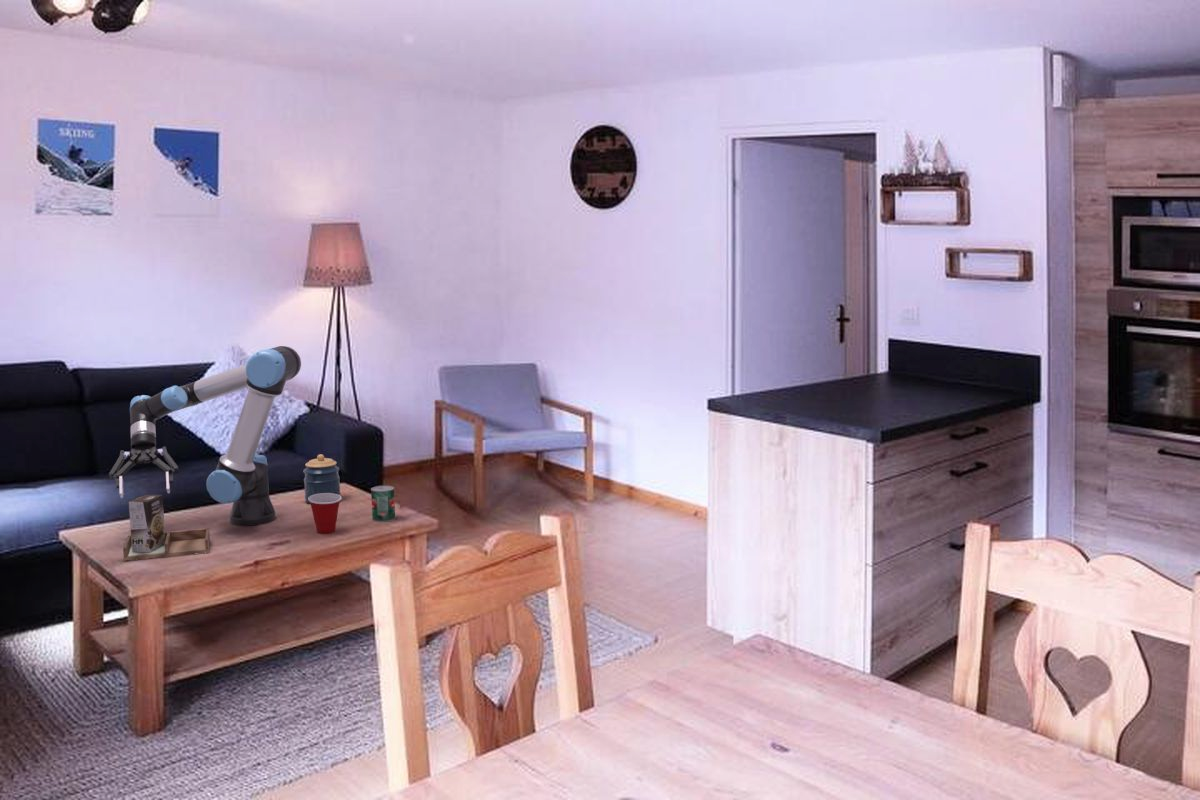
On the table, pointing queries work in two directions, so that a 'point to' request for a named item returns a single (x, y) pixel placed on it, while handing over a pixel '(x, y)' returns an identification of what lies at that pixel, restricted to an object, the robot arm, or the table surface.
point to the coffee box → (147, 523)
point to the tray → (173, 545)
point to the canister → (321, 477)
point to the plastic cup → (325, 511)
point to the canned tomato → (383, 503)
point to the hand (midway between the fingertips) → (145, 493)
